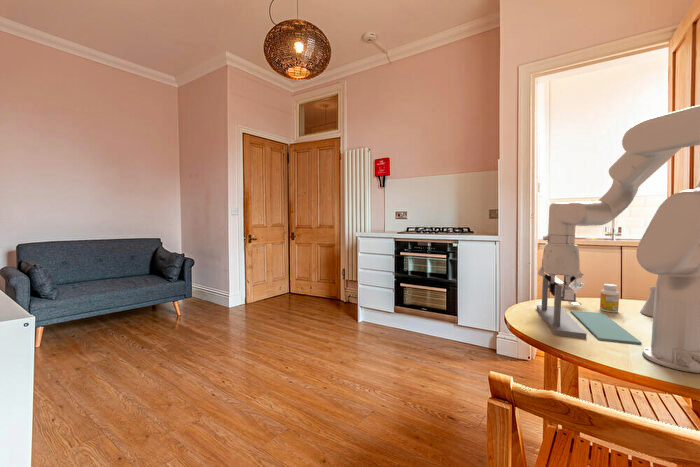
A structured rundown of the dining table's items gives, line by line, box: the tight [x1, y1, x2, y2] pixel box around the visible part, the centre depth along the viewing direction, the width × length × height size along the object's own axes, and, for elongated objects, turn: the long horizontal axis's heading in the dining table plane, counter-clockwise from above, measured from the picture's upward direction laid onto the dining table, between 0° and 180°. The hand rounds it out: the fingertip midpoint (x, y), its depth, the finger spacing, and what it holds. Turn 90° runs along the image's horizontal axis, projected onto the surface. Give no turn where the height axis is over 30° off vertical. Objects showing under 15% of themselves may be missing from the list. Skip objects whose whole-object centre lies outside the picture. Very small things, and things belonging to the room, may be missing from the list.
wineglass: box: [567, 273, 586, 306], centre depth 133 cm, size 6×6×12 cm
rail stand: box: [536, 277, 587, 339], centre depth 111 cm, size 28×8×14 cm, turn 160°
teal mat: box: [570, 310, 643, 345], centre depth 107 cm, size 28×10×1 cm, turn 160°
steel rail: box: [547, 274, 575, 300], centre depth 110 cm, size 24×2×3 cm, turn 160°
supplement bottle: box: [599, 283, 620, 313], centre depth 123 cm, size 5×5×10 cm
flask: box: [640, 286, 655, 318], centre depth 118 cm, size 7×7×10 cm
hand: (558, 294), depth 110 cm, fingers closed on steel rail, 2 cm apart
